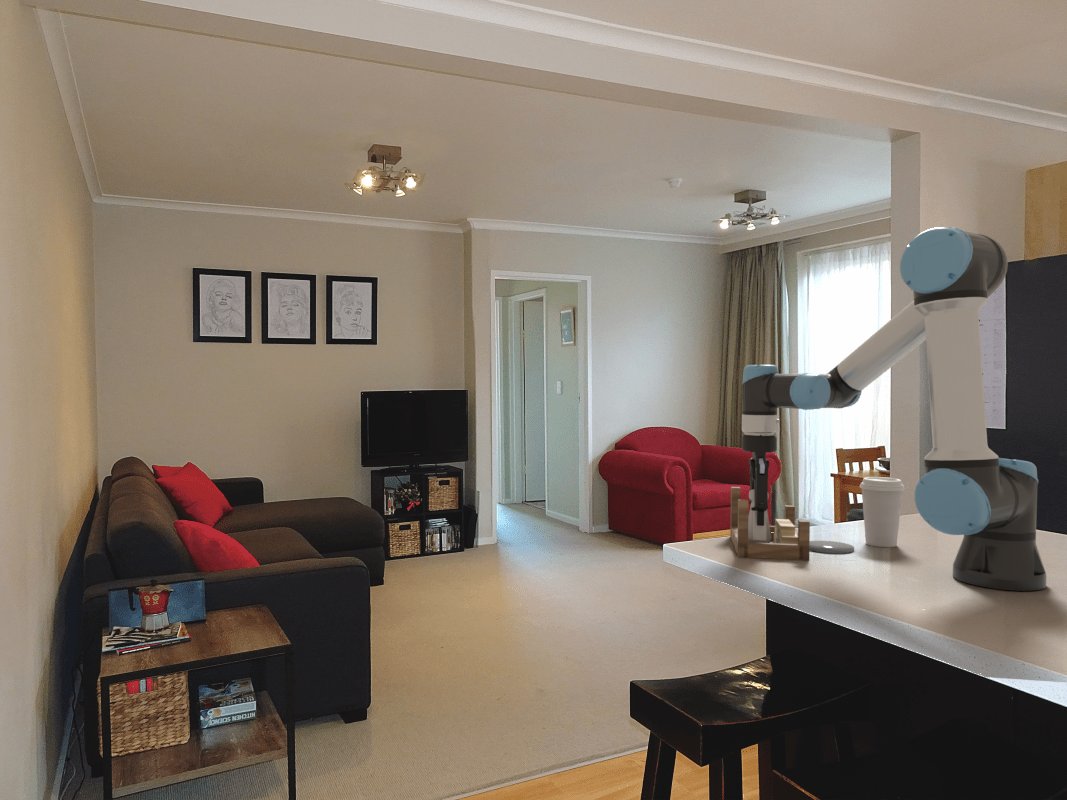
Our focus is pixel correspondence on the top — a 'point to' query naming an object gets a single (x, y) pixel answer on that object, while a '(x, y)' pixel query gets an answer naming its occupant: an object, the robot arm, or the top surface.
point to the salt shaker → (750, 523)
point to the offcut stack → (785, 532)
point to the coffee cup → (881, 510)
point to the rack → (770, 549)
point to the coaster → (830, 547)
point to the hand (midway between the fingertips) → (757, 536)
